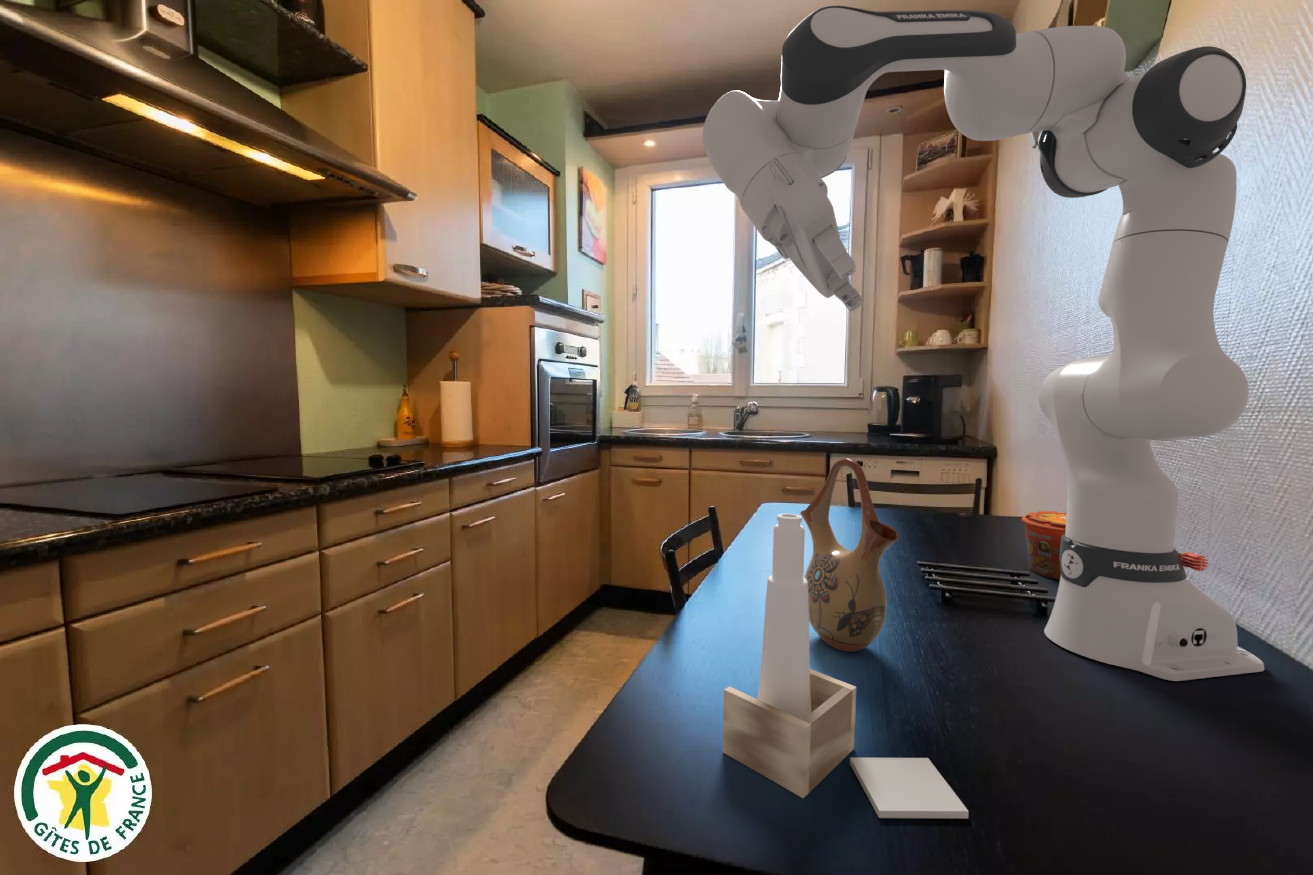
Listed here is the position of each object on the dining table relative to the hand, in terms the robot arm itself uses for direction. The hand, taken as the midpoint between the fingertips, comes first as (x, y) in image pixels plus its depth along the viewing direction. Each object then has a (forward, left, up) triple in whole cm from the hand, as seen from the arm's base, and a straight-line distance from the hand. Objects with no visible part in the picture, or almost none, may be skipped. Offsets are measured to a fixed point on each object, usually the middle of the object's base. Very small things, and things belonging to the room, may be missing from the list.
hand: (853, 290), depth 61 cm
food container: (-58, -41, -45) cm, 84 cm away
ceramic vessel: (-4, -10, -45) cm, 46 cm away
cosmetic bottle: (+9, +12, -45) cm, 47 cm away
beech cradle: (+9, +12, -44) cm, 47 cm away
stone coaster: (0, +17, -44) cm, 48 cm away
